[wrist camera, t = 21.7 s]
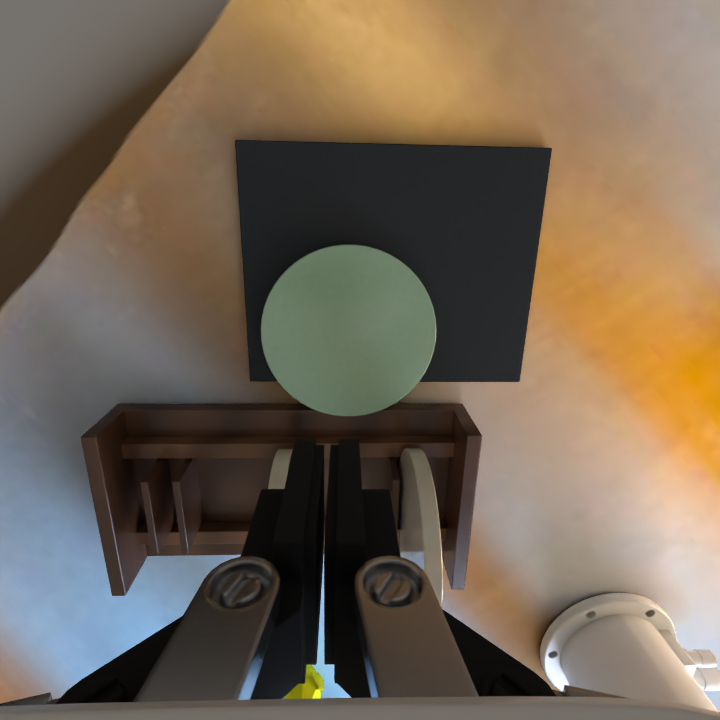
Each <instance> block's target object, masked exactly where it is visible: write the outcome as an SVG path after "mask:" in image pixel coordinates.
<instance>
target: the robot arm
mask: <svg viewBox="0 0 720 720" xmlns="http://www.w3.org/2000/svg"><path fill="white" fill-rule="evenodd" d="M323 553H324V635H325V664H335V675H334V681H335V683H337V684H338V685H340V686H341V687H342V688H343V689H344V690H345V691H346V692H347V693H348V694H349V695H350V696H351V697H352V698H319V699H285V696H286V695H287V694H288V693H289V692H290V691H291V690H292V689H293V688H295V687H296V686H297V685H298V684H305V678H306V666H307V665H316V663H317V648H318V632H319V617H320V601H321V585H322V569H323ZM676 639H677V638H676V630H675V628H674V625H673V623H672V621H671V620H670V618H669V617H668V616H667V614H666V613H665V612H664V610H663V609H662V608H661V607H659V606H658V605H657V604H656V603H655V602H653V601H651V600H650V599H648V598H645V597H642V596H639V595H636V594H629V593H609V594H603V595H597V596H594V597H591V598H588V599H585V600H583V601H581V602H579V603H577V604H575V605H573V606H571V607H570V608H568V609H567V610H565V611H564V612H563V613H562V614H561V615H559V616H558V617H557V618H556V619H555V620H554V621H553V623H552V624H551V625H550V627H549V628H548V629H547V631H546V633H545V635H544V637H543V639H542V643H541V647H540V659H541V663H542V666H543V669H544V671H545V673H546V675H547V677H548V679H549V680H550V681H551V683H552V684H553V685H554V686H555V687H556V688H558V689H559V690H560V691H557V690H552V689H551V688H550V686H549V685H548V684H547V683H546V682H545V681H544V680H543V679H542V678H540V677H539V676H538V675H537V674H536V673H535V672H533V671H532V670H530V669H529V668H527V667H526V666H524V665H523V664H521V663H520V662H519V661H517V660H516V659H514V658H513V657H511V656H510V655H508V654H507V653H505V652H504V651H503V650H501V649H500V648H498V647H497V646H495V645H494V644H492V643H491V642H489V641H488V640H486V639H485V638H484V637H482V636H481V635H479V634H478V633H476V632H475V631H473V630H472V629H470V628H469V627H468V626H466V625H465V624H463V623H462V622H460V621H459V620H457V619H456V618H454V617H453V616H452V615H450V614H449V613H447V612H446V611H444V610H443V609H441V606H440V604H439V601H438V599H437V597H436V594H435V592H434V590H433V587H432V585H431V583H430V580H429V578H428V576H427V575H426V573H425V572H424V570H423V569H422V568H420V567H419V566H418V565H417V564H416V563H414V562H412V561H410V560H408V559H406V558H402V557H401V556H400V550H399V544H398V538H397V532H396V526H395V519H394V513H393V507H392V501H391V495H390V490H389V489H362V478H361V462H360V446H359V440H357V439H339V445H330V461H329V477H328V493H327V509H326V525H325V546H324V445H317V444H316V439H295V442H294V447H293V451H292V456H291V460H290V465H289V470H288V474H287V479H286V483H285V488H284V489H262V490H261V492H260V495H259V498H258V501H257V505H256V508H255V511H254V515H253V518H252V521H251V524H250V528H249V531H248V534H247V538H246V541H245V544H244V547H243V551H242V554H241V557H238V558H234V559H230V560H228V561H226V562H224V563H222V564H220V565H218V566H217V567H216V568H214V569H213V570H212V571H211V572H210V573H209V574H208V575H207V577H206V578H205V579H204V581H203V582H202V584H201V586H200V588H199V589H198V591H197V593H196V594H195V596H194V598H193V600H192V601H191V603H190V605H189V606H188V608H187V610H186V612H185V613H184V615H183V616H182V617H180V618H179V619H177V620H175V621H174V622H172V623H171V624H169V625H167V626H166V627H164V628H163V629H161V630H160V631H158V632H156V633H155V634H153V635H152V636H150V637H148V638H147V639H145V640H144V641H142V642H140V643H139V644H137V645H136V646H134V647H133V648H131V649H129V650H128V651H126V652H125V653H123V654H121V655H120V656H118V657H117V658H115V659H114V660H112V661H110V662H109V663H107V664H106V665H104V666H102V667H101V668H99V669H98V670H96V671H94V672H93V673H91V674H90V675H88V676H87V677H85V678H83V679H82V680H81V681H79V682H78V683H77V684H75V685H74V686H73V687H71V688H70V689H69V690H68V691H67V692H66V693H65V694H64V695H63V696H62V697H61V698H59V699H54V700H52V696H51V692H50V693H46V694H42V695H37V696H33V697H28V698H24V699H19V700H15V701H11V702H6V703H2V704H0V720H720V712H718V710H717V709H716V708H715V706H714V705H713V704H712V702H711V701H710V700H709V698H708V697H707V696H706V694H705V693H704V692H703V691H720V672H719V670H718V669H717V668H716V666H717V661H716V657H715V656H714V654H713V652H711V651H710V650H708V649H699V650H693V651H687V650H686V649H685V648H683V647H682V646H681V645H680V644H679V643H678V641H677V640H676ZM561 691H562V692H561Z"/></svg>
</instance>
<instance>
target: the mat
mask: <svg viewBox="0 0 720 720" xmlns="http://www.w3.org/2000/svg"><path fill="white" fill-rule="evenodd" d="M235 147H236V162H237V178H238V194H239V210H240V226H241V242H242V258H243V273H244V289H245V305H246V321H247V337H248V353H249V369H250V381H277V380H276V378H275V377H274V375H273V374H272V372H271V370H270V368H269V366H268V364H267V361H266V358H265V355H264V352H263V347H262V342H261V319H262V314H263V309H264V306H265V303H266V300H267V298H268V295H269V293H270V291H271V290H272V288H273V286H274V284H275V283H276V282H277V280H278V279H279V277H280V276H281V275H282V274H283V273H284V272H285V271H286V270H287V269H288V268H289V267H290V266H291V265H292V264H294V263H295V262H296V261H298V260H299V259H301V258H302V257H304V256H306V255H307V254H309V253H311V252H314V251H316V250H318V249H321V248H325V247H329V246H333V245H341V244H357V245H364V246H369V247H372V248H376V249H379V250H381V251H383V252H386V253H388V254H390V255H392V256H393V257H395V258H397V259H398V260H400V261H401V262H403V263H404V264H405V265H406V266H407V267H409V268H410V269H411V270H412V271H413V273H414V274H415V275H416V276H417V277H418V278H419V280H420V281H421V282H422V284H423V285H424V287H425V289H426V291H427V293H428V295H429V297H430V299H431V302H432V305H433V308H434V313H435V318H436V342H435V348H434V352H433V355H432V358H431V361H430V364H429V366H428V368H427V370H426V372H425V373H424V375H423V376H422V378H421V380H420V381H419V382H519V381H520V374H521V366H522V359H523V352H524V345H525V338H526V331H527V323H528V316H529V309H530V302H531V295H532V288H533V280H534V273H535V266H536V259H537V252H538V245H539V237H540V230H541V223H542V216H543V209H544V202H545V194H546V187H547V180H548V173H549V166H550V159H551V151H552V148H529V147H490V146H451V145H413V144H374V143H335V142H296V141H257V140H235Z"/></svg>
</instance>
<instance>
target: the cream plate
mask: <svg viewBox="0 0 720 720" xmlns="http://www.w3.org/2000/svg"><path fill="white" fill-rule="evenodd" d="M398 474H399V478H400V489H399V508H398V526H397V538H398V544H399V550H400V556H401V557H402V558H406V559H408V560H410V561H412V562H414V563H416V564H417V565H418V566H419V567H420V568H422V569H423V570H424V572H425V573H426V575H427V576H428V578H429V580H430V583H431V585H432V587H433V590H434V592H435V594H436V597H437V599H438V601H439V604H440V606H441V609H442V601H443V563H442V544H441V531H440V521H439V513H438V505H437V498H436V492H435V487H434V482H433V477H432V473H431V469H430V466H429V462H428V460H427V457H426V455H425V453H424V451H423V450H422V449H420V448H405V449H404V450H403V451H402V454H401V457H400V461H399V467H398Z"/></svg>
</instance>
